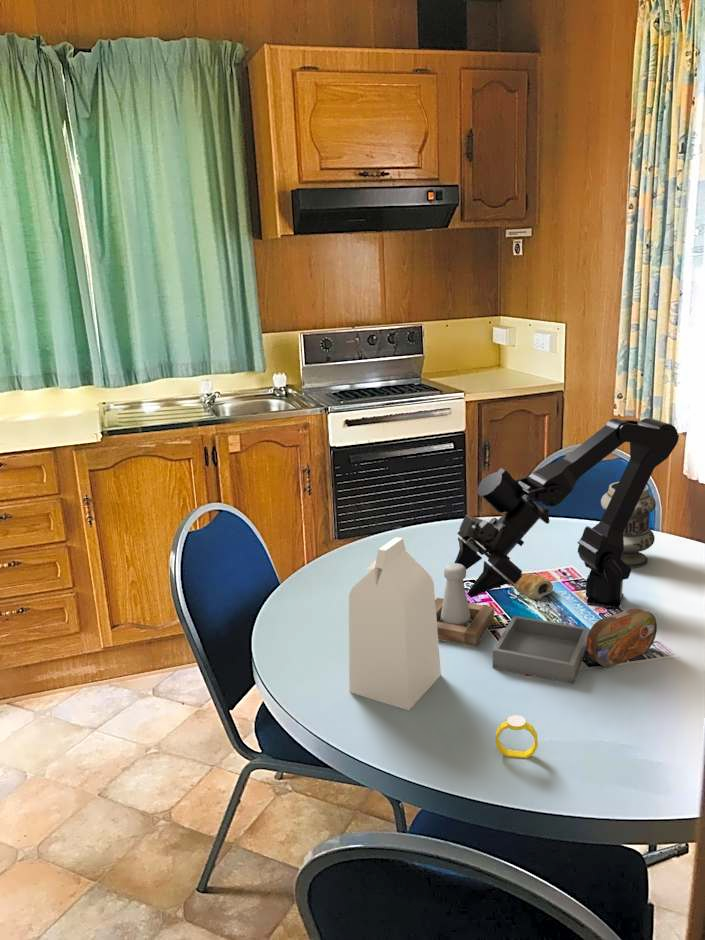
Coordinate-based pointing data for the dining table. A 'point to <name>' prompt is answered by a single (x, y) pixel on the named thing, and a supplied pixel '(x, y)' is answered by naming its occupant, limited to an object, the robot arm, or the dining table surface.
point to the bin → (541, 649)
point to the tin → (621, 636)
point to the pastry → (533, 586)
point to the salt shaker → (455, 596)
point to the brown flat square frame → (462, 634)
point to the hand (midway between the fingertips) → (459, 586)
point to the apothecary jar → (635, 528)
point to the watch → (516, 724)
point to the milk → (393, 630)
